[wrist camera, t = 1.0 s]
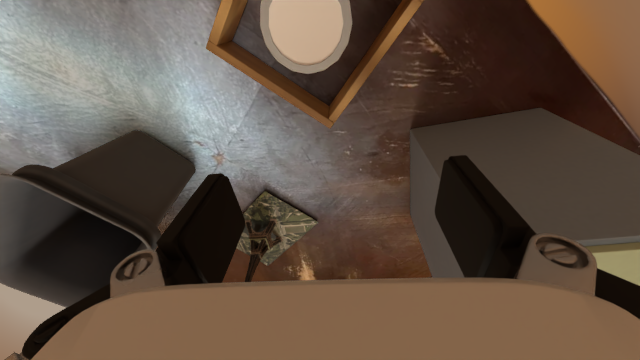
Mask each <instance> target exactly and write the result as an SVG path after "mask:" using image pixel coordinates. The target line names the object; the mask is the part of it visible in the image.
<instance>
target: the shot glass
mask: <svg viewBox="0 0 640 360" xmlns="http://www.w3.org/2000/svg"><path fill="white" fill-rule="evenodd" d="M351 27H352V17H351V9H350V1H349V0H262V2H261V5H260V28H261V31H262V34H263V37H264V41H265V44H266V46H267V48H268V49H269V50H270V52H271V53H272V55H273V56H274V57H275V59H276V60H277V61H278V62H279V63H281V64H282V65H284V66H285V67H287V68H288V69H290V70H291V71H295V72H300V73H305V74H311V73H315V72H320V71H324V70H325V69H327V68H328V67H329V66H331V65H332V64H333V63H335V62H336V61H337V60H338V59H339V58H340V56H341V54H342V53H343V51H344V50H345V48H346V46H347V45H348V42H349V37H350V32H351Z"/></svg>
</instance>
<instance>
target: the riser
mask: <svg viewBox="0 0 640 360" xmlns="http://www.w3.org/2000/svg"><path fill="white" fill-rule="evenodd" d="M459 155H466V156H468V158H469V159H470V160H471V161H472V162H473V163H474V164H475V165H476V166H477V168H478V169H479V170H480V171H481V172H482V173H483V174H484V175H485V176H486V178H487V179H488V180H489V181H490V182H491V183H492V184H493V185H494V187H495V188H496V189H497V190H498V191H499V192H500V193H501V194H502V195H503V197H504V198H505V199H506V200H507V201H508V202H509V203H510V204H511V205H512V207H513V208H514V209H515V210H516V211H517V212H518V213H519V214H520V215H521V217H522V218H523V219H524V220H525V221H526V222H527V223H528V224H529V226H530V227H531V228H532V229H533V230H534V231H535V233H536V234H538V233H555V234H559V235H562V236H566V237H568V238H570V239H573V240H575V241H577V242H578V243H580V244H582V245H583V246H598V245H610V244H622V243H635V242H640V155H637V154H635V153H633V152H631V151H629V150H627V149H625V148H623V147H621V146H619V145H617V144H615V143H613V142H611V141H609V140H607V139H604V138H602V137H600V136H598V135H596V134H594V133H592V132H590V131H588V130H586V129H584V128H582V127H580V126H578V125H576V124H574V123H571V122H569V121H567V120H565V119H563V118H561V117H559V116H557V115H555V114H553V113H551V112H549V111H547V110H545V109H543V108H535V109H529V110H523V111H517V112H511V113H505V114H499V115H493V116H487V117H481V118H475V119H469V120H462V121H456V122H450V123H444V124H438V125H432V126H426V127H420V128H414V129H410V215H411V218H412V221H413V223H414V226H415V229H416V232H417V235H418V237H419V240H420V243H421V246H422V249H423V251H424V254H425V257H426V260H427V263H428V265H429V268H430V271H431V274H432V277H433V278H465V277H464V275H463V273H462V271H461V269H460V267H459V265H458V263H457V261H456V259H455V257H454V254H453V252H452V250H451V248H450V246H449V244H448V242H447V240H446V238H445V236H444V234H443V232H442V230H441V227H440V225H439V223H438V221H437V219H436V217H435V205H436V199H437V194H438V189H439V184H440V178H441V173H442V168H443V163H444V161H445V160H448V158H449V157H450V156H459Z"/></svg>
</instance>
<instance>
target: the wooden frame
mask: <svg viewBox="0 0 640 360" xmlns="http://www.w3.org/2000/svg"><path fill="white" fill-rule="evenodd" d="M247 1H248V0H222V1H221V4H220V7H219V10H218V13H217V16H216V19H215V22H214V25H213V28H212V31H211V34H210V37H209V41H208V43H207V46H206V49H208V50H209V51H211V52H212V53H214V54H215V55H217V56H218V57H220V58H221V59H223V60H225V61H226V62H228V63H229V64H231V65H232V66H234V67H235V68H237V69H238V70H240V71H242V72H243V73H245V74H246V75H248V76H249V77H251V78H252V79H254V80H255V81H257V82H259V83H260V84H262V85H263V86H265V87H266V88H268V89H269V90H271V91H273V92H274V93H276V94H277V95H279V96H280V97H282V98H283V99H285V100H286V101H288V102H290V103H291V104H293V105H294V106H296V107H297V108H299V109H300V110H302V111H303V112H305V113H307V114H308V115H310V116H311V117H313V118H314V119H316V120H317V121H319V122H320V123H322V124H324V125H325V126H327V127H328V128H331V127H332V126H333V124H334V122H335V121H336V120H337V119H338V117H339V116H340V115H341V113H342V112H343V111H344V109H345V108H346V106H347V105H348V104H349V102H350V101H351V100H352V98H353V97H354V95H355V94H356V93H357V91H358V90H359V89H360V87H361V86H362V85H363V83H364V82H365V80H366V79H367V78H368V76H369V75H370V74H371V72H372V71H373V70H374V68H375V67H376V65H377V64H378V63H379V61H380V60H381V59H382V57H383V56H384V55H385V53H386V52H387V50H388V49H389V48H390V46H391V45H392V44H393V42H394V41H395V39H396V38H397V37H398V35H399V34H400V33H401V31H402V30H403V29H404V27H405V26H406V24H407V23H408V22H409V20H410V19H411V18H412V16H413V15H414V14H415V12H416V11H417V9H418V8H419V7H420V5H421V3H423V1H424V0H402V1H401V3H400V4H399V6H398V7H397V9H396V10H395V11H394V13H393V14H392V16H391V17H390V19H389V20H388V22H387V23H386V25H385V26H384V27H383V29H382V30H381V32H380V33H379V35H378V36H377V38H376V39H375V41H374V42H373V43H372V45H371V46H370V48H369V49H368V51H367V52H366V54H365V55H364V56H363V58H362V59H361V61H360V62H359V64H358V65H357V67H356V68H355V70H354V71H353V72H352V74H351V75H350V77H349V78H348V80H347V81H346V83H345V84H344V86H343V87H342V88H341V90H340V91H339V93H338V94H337V96H336V97H335V99H334V100H333V101H332V103H331V104H330V106H328V105H326V104H325V103H323V102H322V101H320V100H319V99H317V98H316V97H314V96H313V95H311V94H310V93H308V92H307V91H305V90H304V89H302V88H301V87H300V86H298V85H297V84H295V83H294V82H292V81H291V80H289V79H288V78H286V77H285V76H283V75H282V74H280V73H279V72H277V71H276V70H274V69H273V68H271V67H270V66H268V65H267V64H265V63H264V62H263V61H261V60H260V59H258V58H257V57H255V56H254V55H252V54H251V53H249V52H248V51H246V50H245V49H243V48H242V47H240V46H239V45H237V44H236V43H234V42H233V41H232V40H233V37H234V35H235V32H236V30H237V27H238V24H239V22H240V19H241V17H242V14H243V11H244V9H245V6H246V4H247Z"/></svg>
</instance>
